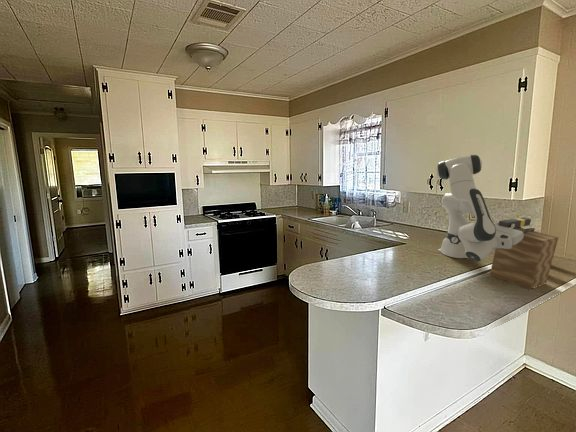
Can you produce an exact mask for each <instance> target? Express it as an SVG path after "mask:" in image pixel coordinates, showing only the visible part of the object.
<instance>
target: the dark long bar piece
mask: <svg viewBox="0 0 576 432" xmlns="http://www.w3.org/2000/svg"><path fill="white" fill-rule="evenodd" d="M498 221H499V222H498V223H499V226H503V227H508V228H510V224H511V223H512V224H515V227H514V228H517V227H521V228H523V227H528V226H530V225H531V222H532V218H528V217H525V216H524V217H517V218H510V219H503V220H498Z"/></svg>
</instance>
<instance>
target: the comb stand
mask: <svg viewBox="0 0 576 432" xmlns="http://www.w3.org/2000/svg"><path fill="white" fill-rule="evenodd" d="M513 229H515V230H519V231H522V232H523V234H524V237H523V239H522V240H521V241H520V242H519V243H517V244H516V245H512V248H511V249H504V248H496V249H494V253H493V254H494V255H493V259H492V263H491V268H490V272H489V273H490V275H491V276H493V277H496V278H499V279H501V280H505V281H506V282H509V283H511V284H515V285H517V286H519V287H521V286H523V287H522V288H524V287H526V288H525V289H527V288H529V289H531V288H534V287H536V286H539V285H542V284H544V283H546V284H547V282H548V277H549V274H550V269H551V266H552V263H553V259H554V256H555V251H556V248H557V245H558V241H559V236H555V235H551V234H547V233H543V232H539V231H535V230H536V229H535V228H534V227H527V228H523V227H517V228H513ZM542 286H543V285H542ZM539 287H540V286H539ZM529 289H528V290H529ZM534 289H535V288H534ZM531 290H532V289H531Z"/></svg>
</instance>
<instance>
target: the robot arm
mask: <svg viewBox="0 0 576 432" xmlns="http://www.w3.org/2000/svg"><path fill="white" fill-rule="evenodd" d="M482 168H483V161H482V160H481V157H479V155H477V154H470V155H464V156H458V157H455V158H450V159H447V160H442V161H440V162H438V163H437V165H436V170H435V171H436V175H437V176H438V179H441V180H449V181H448V182H449V187H450V192H447V193H445V194H444V195H443V196H442V199H441V205H442V207H443V208H444V209H445V211H446V212H447V215H448V220H449V221H448V229H447V231H446V234H445V235H446V236H445V238H444V239H442V244H441V248H438V250H437V251H438V252H440V253H441V254H443V255H445V256H448V257H451V258H456V259H469V260H471V261H474V262H481V261H484V260H485V259H487V257H489V256H490V255H491V254H492V253H493V251H495V249H496V248H504V249H511V248H512V245H516V244H517V243H519V242H520V241H521V240H522V239H523V237H524V234H523V232H522V231H519V230H515V229H513V228H514V227H515V224H512V223H511V224H510V228H508V227H503V226H499V222H495V223H494V222H493V220H492V218H491V216H490V213H489V210H488V206H487V202H486V200H485V198H484V196H483V194H482V192H481V191H480V190H479V189H477V187H476V185H475V180H474V177H473V176H474V175H477V174H479V173H480V172H481V171H482ZM463 214H467V215H473V216H474V217H475V218H474V219H475V221H474V222H471V223H470V222H469V220H468V219H467V218H466V217H464V215H463Z"/></svg>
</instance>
